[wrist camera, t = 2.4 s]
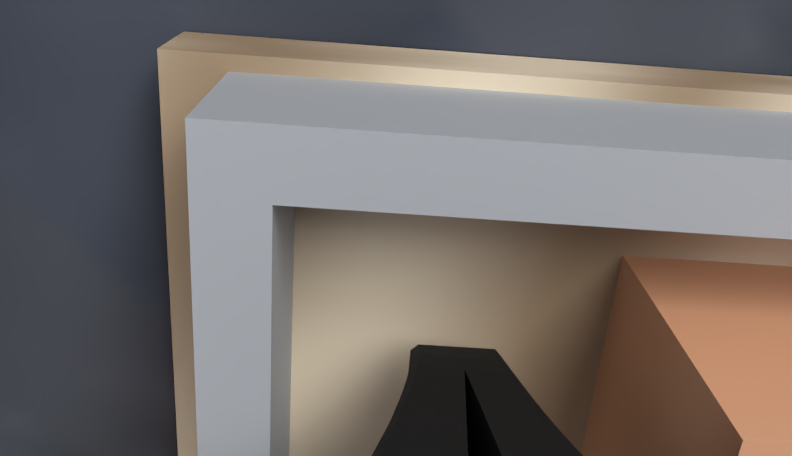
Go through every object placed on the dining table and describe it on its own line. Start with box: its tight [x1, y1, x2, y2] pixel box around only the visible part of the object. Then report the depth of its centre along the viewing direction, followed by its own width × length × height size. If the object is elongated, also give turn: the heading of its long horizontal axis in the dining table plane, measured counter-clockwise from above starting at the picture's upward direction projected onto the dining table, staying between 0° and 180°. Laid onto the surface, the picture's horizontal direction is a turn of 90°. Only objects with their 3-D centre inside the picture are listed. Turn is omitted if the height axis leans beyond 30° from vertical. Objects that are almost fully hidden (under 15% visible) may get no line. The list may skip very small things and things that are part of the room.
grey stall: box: [185, 71, 792, 456], centre depth 12 cm, size 13×10×2 cm
